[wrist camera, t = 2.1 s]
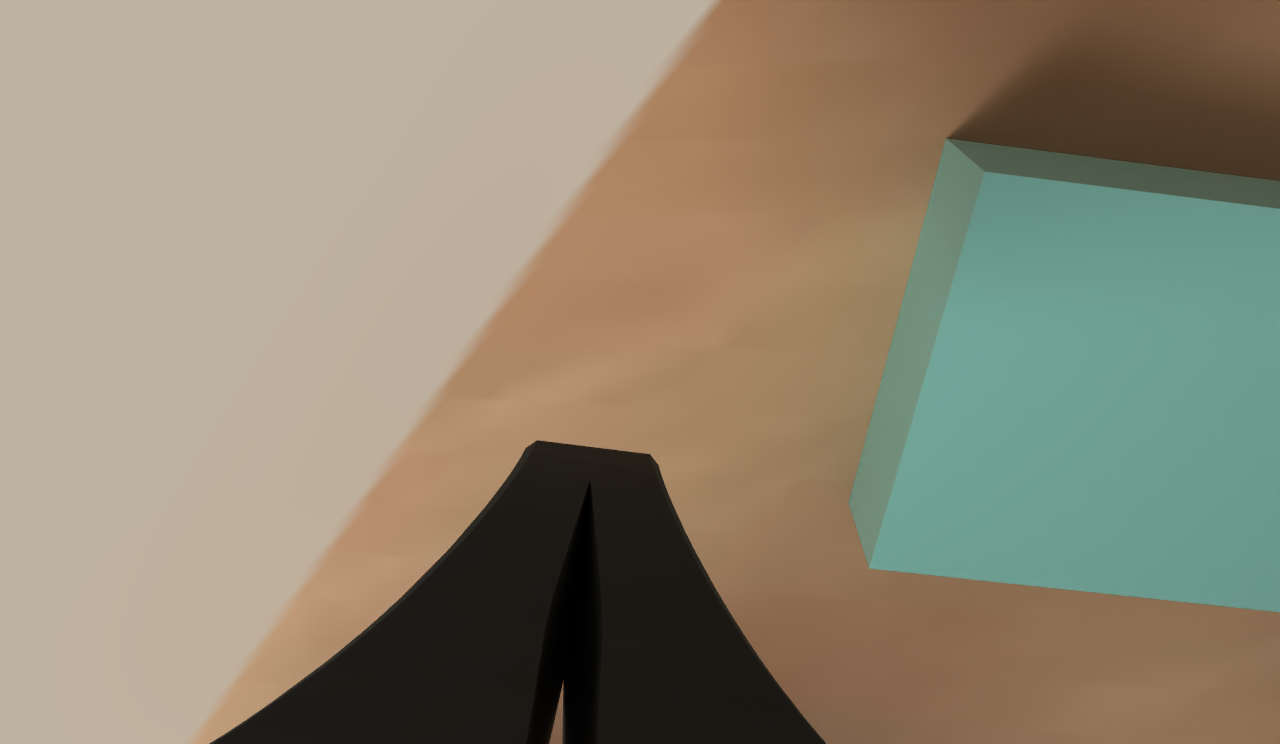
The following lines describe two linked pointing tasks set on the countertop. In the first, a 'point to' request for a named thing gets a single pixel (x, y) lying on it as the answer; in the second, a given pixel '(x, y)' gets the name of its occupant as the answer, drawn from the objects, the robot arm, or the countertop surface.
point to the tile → (1084, 383)
